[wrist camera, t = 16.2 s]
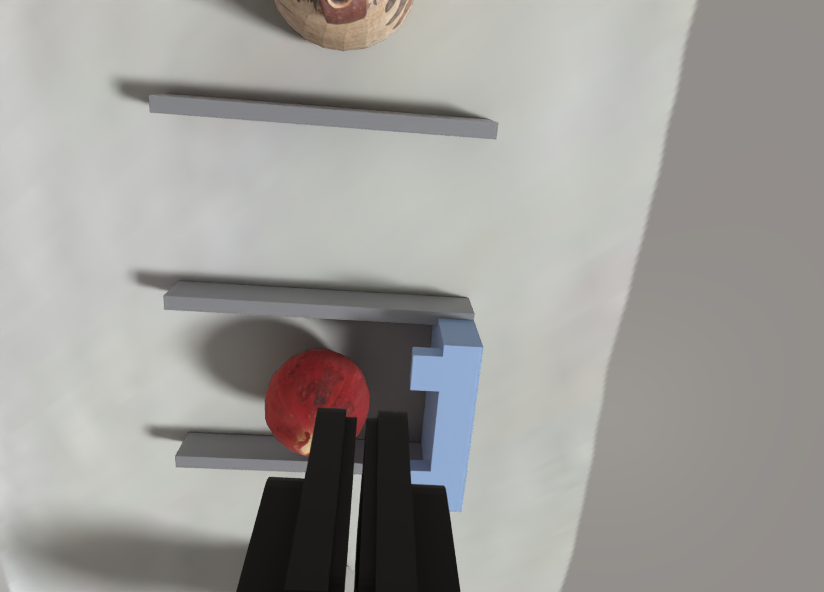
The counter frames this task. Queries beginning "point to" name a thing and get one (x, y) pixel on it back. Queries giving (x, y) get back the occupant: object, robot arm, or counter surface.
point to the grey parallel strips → (303, 301)
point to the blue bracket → (447, 405)
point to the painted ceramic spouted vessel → (344, 20)
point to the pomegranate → (313, 395)
